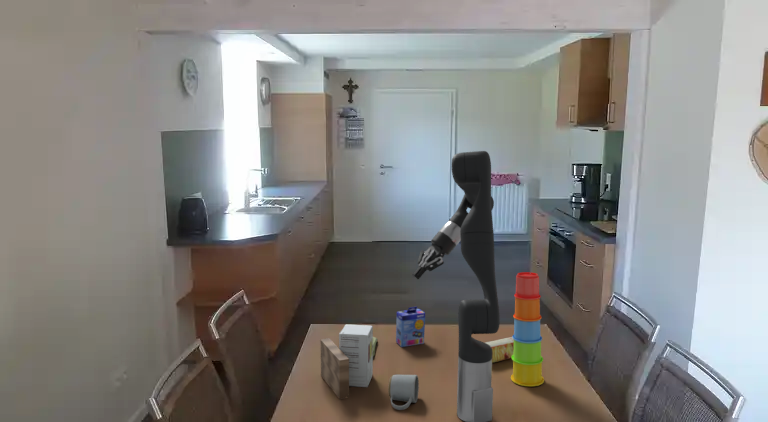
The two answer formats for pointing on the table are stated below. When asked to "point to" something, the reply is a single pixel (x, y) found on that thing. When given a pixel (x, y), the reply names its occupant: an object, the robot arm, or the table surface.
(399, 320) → the ink cartridge box
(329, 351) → the wooden board
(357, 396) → the table surface
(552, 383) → the table surface
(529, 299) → the stacking cups
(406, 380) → the ceramic mug
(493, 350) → the snack package
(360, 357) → the supplement box
